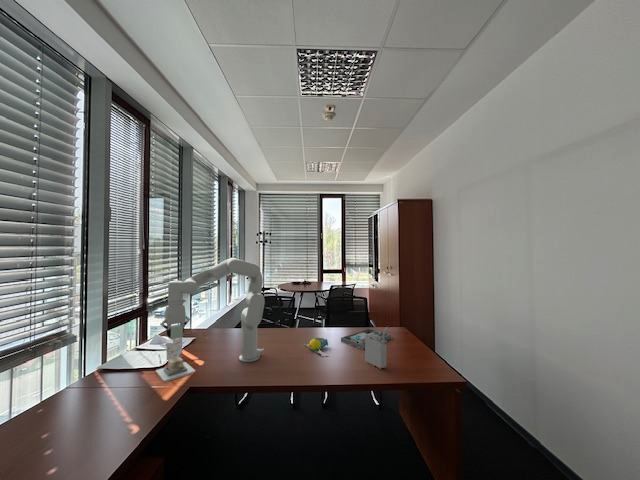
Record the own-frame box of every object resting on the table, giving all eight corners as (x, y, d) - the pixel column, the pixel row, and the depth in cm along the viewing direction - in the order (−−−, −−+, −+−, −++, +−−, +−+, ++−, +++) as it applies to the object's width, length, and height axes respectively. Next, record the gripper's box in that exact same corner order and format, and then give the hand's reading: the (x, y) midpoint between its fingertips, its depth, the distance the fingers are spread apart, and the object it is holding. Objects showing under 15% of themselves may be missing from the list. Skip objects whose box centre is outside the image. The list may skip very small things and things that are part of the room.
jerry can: (390, 369, 164) (390, 326, 164) (384, 371, 162) (384, 327, 162) (370, 360, 177) (371, 320, 177) (365, 362, 174) (365, 321, 174)
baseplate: (185, 363, 171) (185, 359, 171) (195, 372, 160) (195, 368, 160) (155, 371, 160) (155, 368, 160) (163, 382, 149) (163, 378, 149)
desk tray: (368, 331, 231) (368, 328, 231) (391, 338, 216) (391, 334, 216) (340, 341, 209) (340, 337, 209) (363, 350, 194) (363, 345, 193)
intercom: (384, 332, 219) (361, 339, 203) (384, 337, 219) (361, 345, 203) (371, 327, 229) (348, 334, 213) (371, 333, 229) (348, 340, 213)
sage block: (179, 334, 164) (179, 324, 164) (182, 337, 160) (183, 326, 160) (168, 336, 160) (168, 326, 160) (171, 339, 156) (171, 328, 156)
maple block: (179, 367, 164) (179, 356, 164) (183, 370, 160) (183, 359, 160) (168, 370, 160) (168, 359, 160) (171, 374, 156) (171, 363, 156)
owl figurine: (297, 333, 202) (316, 330, 210) (297, 345, 202) (316, 342, 210) (318, 346, 179) (338, 342, 186) (318, 360, 178) (337, 355, 186)
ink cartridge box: (175, 356, 182) (175, 333, 182) (182, 356, 181) (182, 333, 181) (165, 361, 174) (166, 337, 174) (173, 362, 173) (173, 338, 173)
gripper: (189, 299, 169) (189, 330, 169) (156, 304, 157) (156, 337, 157) (194, 301, 163) (193, 333, 163) (160, 306, 151) (160, 340, 151)
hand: (175, 334), depth 160 cm, fingers closed on sage block, 6 cm apart
